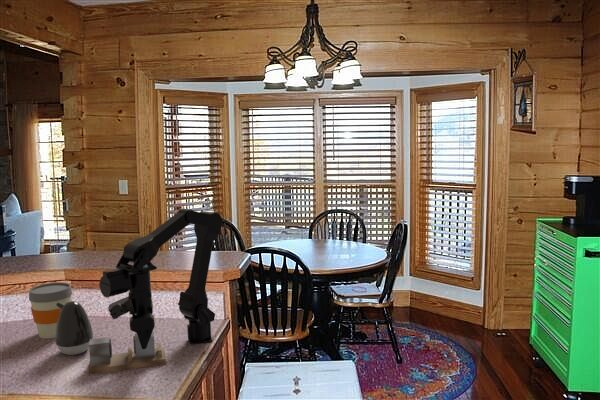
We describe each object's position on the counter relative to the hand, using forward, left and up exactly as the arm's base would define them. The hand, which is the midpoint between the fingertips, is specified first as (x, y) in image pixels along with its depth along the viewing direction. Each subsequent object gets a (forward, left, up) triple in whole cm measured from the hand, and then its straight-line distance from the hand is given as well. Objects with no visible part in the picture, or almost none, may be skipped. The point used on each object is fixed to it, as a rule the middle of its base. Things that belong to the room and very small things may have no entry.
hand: (143, 342), depth 150 cm
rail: (+4, 0, -5) cm, 7 cm away
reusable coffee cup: (+27, -32, -6) cm, 43 cm away
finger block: (0, 0, -4) cm, 4 cm away
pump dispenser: (+19, -14, -6) cm, 25 cm away
